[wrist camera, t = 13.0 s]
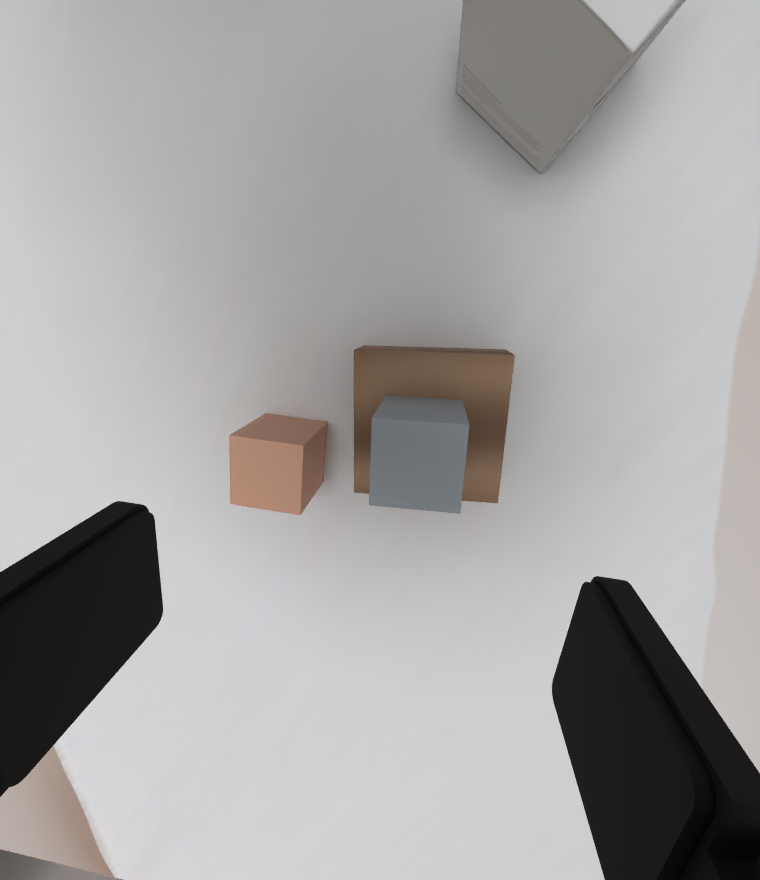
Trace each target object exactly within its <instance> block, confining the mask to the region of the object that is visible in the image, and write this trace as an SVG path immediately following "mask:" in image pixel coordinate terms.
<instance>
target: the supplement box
mask: <svg viewBox="0 0 760 880" xmlns="http://www.w3.org/2000/svg"><path fill="white" fill-rule="evenodd" d="M684 2H685V0H463V9H462V21H461V33H460V45H459V58H458V70H457V82H456V92H457V93H458V94H459V95H460V96H461V97H462V98H463V99H464V100H465V101H466V102H467V103H468V104H469V105H470V106H471V107H472V108H473V109H474V110H475V111H476V112H478V113H479V114H480V115H481V116H482V117H483V118H484V119H485V120H486V121H487V122H488V123H489V124H490V125H491V126H492V127H493V128H494V129H495V130H496V131H497V132H498V133H499V134H500V135H501V136H502V137H503V138H504V139H505V140H506V141H507V142H508V143H509V144H510V145H511V146H512V147H513V148H514V149H515V150H516V151H517V152H518V153H520V154H521V155H522V156H523V157H524V158H525V159H526V160H527V161H528V162H529V163H530V164H531V165H532V166H533V167H534V168H535V169H536V170H537V171H538V172H540V173H542V172H544V171H545V170H546V168H547V167H548V166H549V165H550V164H551V162H552V161H553V160H554V159H555V158H556V156H557V155H558V154H559V153H560V152H561V151H562V149H563V148H564V147H565V146H566V145H567V143H568V142H569V141H570V140H571V139H572V138H573V136H574V135H575V134H576V133H577V132H578V131H579V129H580V128H581V127H582V126H583V125H584V123H585V122H586V121H587V120H588V119H589V118H590V116H591V115H592V114H593V113H594V112H595V111H596V109H597V108H598V107H599V106H600V105H601V103H602V102H603V101H604V100H605V98H606V97H607V96H608V95H609V94H610V92H611V91H612V90H613V89H614V88H615V86H616V85H617V84H618V83H619V82H620V80H621V79H622V78H623V77H624V76H625V74H626V73H627V72H628V71H629V70H630V68H631V67H632V66H633V65H634V64H635V62H636V61H637V60H638V59H639V57H640V56H641V55H642V54H643V52H644V51H645V50H646V49H647V47H648V46H649V45H650V44H651V43H652V41H653V40H654V39H655V38H656V36H657V35H658V34H659V33H660V31H661V30H662V29H663V28H664V26H665V25H666V24H667V23H668V21H669V20H670V19H671V18H672V16H673V15H674V14H675V13H676V11H677V10H678V9H679V8H680V7H681V5H682V4H683V3H684Z"/></svg>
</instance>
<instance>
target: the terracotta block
mask: <svg viewBox="0 0 760 880" xmlns="http://www.w3.org/2000/svg"><path fill="white" fill-rule="evenodd" d="M326 436H327V422H323V421H316V420H309V419H301V418H294V417H287V416H279V415H272V414H264V415H263V416H261V417H259V418H258V419H256V420H254V421H253V422H251V423H249V424H247V425H246V426H244V427H242V428H241V429H239V430H237V431H236V432H234V433H232V434H231V435H229V441H230V504H235V505H241V506H247V507H253V508H259V509H266V510H272V511H278V512H284V513H290V514H297V515H301V513H302V512H303V510H304V509H305V507H306V506H307V505H308V503H309V502H310V500H311V499H312V497H313V496H314V494H315V493H316V491H317V490H318V488H319V487H320V485H321V484H322V483H323V481H324V467H325V451H326Z"/></svg>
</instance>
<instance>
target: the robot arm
mask: <svg viewBox="0 0 760 880" xmlns="http://www.w3.org/2000/svg"><path fill="white" fill-rule="evenodd" d="M162 613H163V603H162V593H161V582H160V572H159V561H158V551H157V541H156V530H155V520H154V516H153V514H151V513H149V510H148V509H147V507H146V506H144V505H141V504H134V503H128V502H122V501H117V502H115V503H112V504H111V505H109V506H107V507H106V508H104V509H103V510H101V511H99V512H98V513H96V514H94V515H93V516H91V517H90V518H88V519H86V520H85V521H83V522H81V523H80V524H78V525H77V526H75V527H73V528H72V529H70V530H68V531H67V532H65V533H64V534H62V535H60V536H59V537H57V538H55V539H54V540H52V541H50V542H49V543H47V544H46V545H44V546H42V547H41V548H39V549H37V550H36V551H34V552H33V553H31V554H29V555H28V556H26V557H24V558H23V559H21V560H20V561H18V562H16V563H15V564H13V565H11V566H10V567H8V568H7V569H5V570H3V571H2V572H0V797H1V796H2V795H3V793H4V792H5V791H6V790H7V789H8V788H9V787H12V786H14V785H16V784H18V783H19V782H21V781H22V780H23V779H24V778H25V777H26V776H27V775H28V774H29V773H30V771H31V770H32V769H33V768H34V767H35V766H36V764H37V763H38V762H39V761H40V760H41V758H43V756H44V755H45V754H46V753H47V752H48V751H49V750H50V748H51V747H52V746H53V745H54V744H55V743H56V742H57V740H58V739H59V738H60V737H61V736H62V735H63V734H64V732H65V731H66V730H67V729H68V728H69V727H70V725H71V724H72V723H73V722H74V721H75V720H76V719H77V717H78V716H79V715H80V714H81V713H82V712H83V711H84V709H85V708H86V707H87V706H88V705H89V704H90V703H91V701H92V700H93V699H94V698H95V697H96V696H97V694H98V693H99V692H100V691H101V690H102V689H103V688H104V686H105V685H106V684H107V683H108V682H109V681H110V680H111V678H112V677H113V676H114V675H115V674H116V673H117V672H118V670H119V669H120V668H121V667H122V666H123V665H124V664H125V662H126V661H127V660H128V659H129V658H130V657H131V655H132V654H133V653H134V652H135V651H136V650H137V649H138V647H139V646H140V645H141V644H142V643H143V642H144V641H145V639H146V638H147V637H148V636H149V635H150V634H151V633H152V631H153V630H154V629H155V628H156V627H157V625H158V624H159V622H160V620H161V617H162ZM552 696H553V701H554V705H555V708H556V712H557V715H558V719H559V722H560V726H561V729H562V733H563V736H564V740H565V743H566V746H567V750H568V753H569V757H570V760H571V764H572V767H573V771H574V774H575V778H576V781H577V785H578V788H579V791H580V795H581V798H582V802H583V805H584V809H585V812H586V816H587V819H588V823H589V826H590V830H591V833H592V837H593V840H594V843H595V847H596V850H597V854H598V857H599V861H600V864H601V868H602V871H603V875H604V878H605V880H760V773H759V772H758V770H757V769H756V767H755V766H754V764H753V763H752V761H751V760H750V759H749V757H748V756H747V754H746V753H745V751H744V750H743V748H742V747H741V745H740V744H739V742H738V741H737V739H736V738H735V737H734V735H733V734H732V732H731V731H730V729H729V728H728V726H727V725H726V723H725V722H724V721H723V719H722V718H721V716H720V715H719V713H718V712H717V710H716V709H715V707H714V706H713V704H712V703H711V701H710V700H709V699H708V697H707V696H706V694H705V693H704V691H703V690H702V688H701V687H700V685H699V684H698V682H697V681H696V679H695V678H694V677H693V675H692V674H691V672H690V671H689V669H688V668H687V666H686V665H685V663H684V662H683V660H682V659H681V657H680V656H679V655H678V653H677V652H676V650H675V649H674V647H673V646H672V644H671V643H670V641H669V640H668V638H667V637H666V636H665V634H664V633H663V631H662V630H661V628H660V627H659V625H658V624H657V622H656V621H655V619H654V618H653V616H652V615H651V614H650V612H649V611H648V609H647V608H646V606H645V605H644V603H643V602H642V600H641V599H640V597H639V596H638V595H637V593H636V592H635V590H634V589H633V587H632V586H631V585H630V583H629V582H627V581H624V580H618V579H612V578H605V577H599V576H596V577H594V578H593V579H592V581H591V583H590V582H585V583H584V584H583V585H582V587H581V590H580V593H579V596H578V600H577V603H576V606H575V610H574V613H573V616H572V619H571V623H570V626H569V629H568V632H567V636H566V639H565V642H564V646H563V649H562V652H561V655H560V659H559V662H558V665H557V669H556V672H555V675H554V678H553V683H552ZM0 880H122V879H118V878H114V877H110V876H106V875H102V874H98V873H94V872H90V871H86V870H82V869H78V868H74V867H70V866H66V865H62V864H57V863H54V862H50V861H45V860H41V859H37V858H33V857H29V856H25V855H20V854H17V853H13V852H9V851H5V850H0Z"/></svg>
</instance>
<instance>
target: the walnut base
mask: <svg viewBox="0 0 760 880" xmlns="http://www.w3.org/2000/svg"><path fill="white" fill-rule="evenodd" d="M513 364H514V355H513V354H512V353H510V352H509V351H507V350H497V349H463V348H429V347H395V346H362V347H360V348H358V349H355V350H354V492H356V493H369V494H370V461H371V427H372V417H373V415H374V414H375V412H376V410H377V409H378V407H379V405H380V404H381V402H382V400H383V399H384V397H385V395H389V396H405V397H421V398H438V399H454V400H463V403H464V407H465V410H466V414H467V418H468V421H469V434H468V444H467V453H466V463H465V472H464V482H463V491H462V501H476V502H489V503H498V495H499V487H500V478H501V469H502V460H503V452H504V443H505V434H506V425H507V416H508V408H509V399H510V390H511V381H512V372H513Z"/></svg>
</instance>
